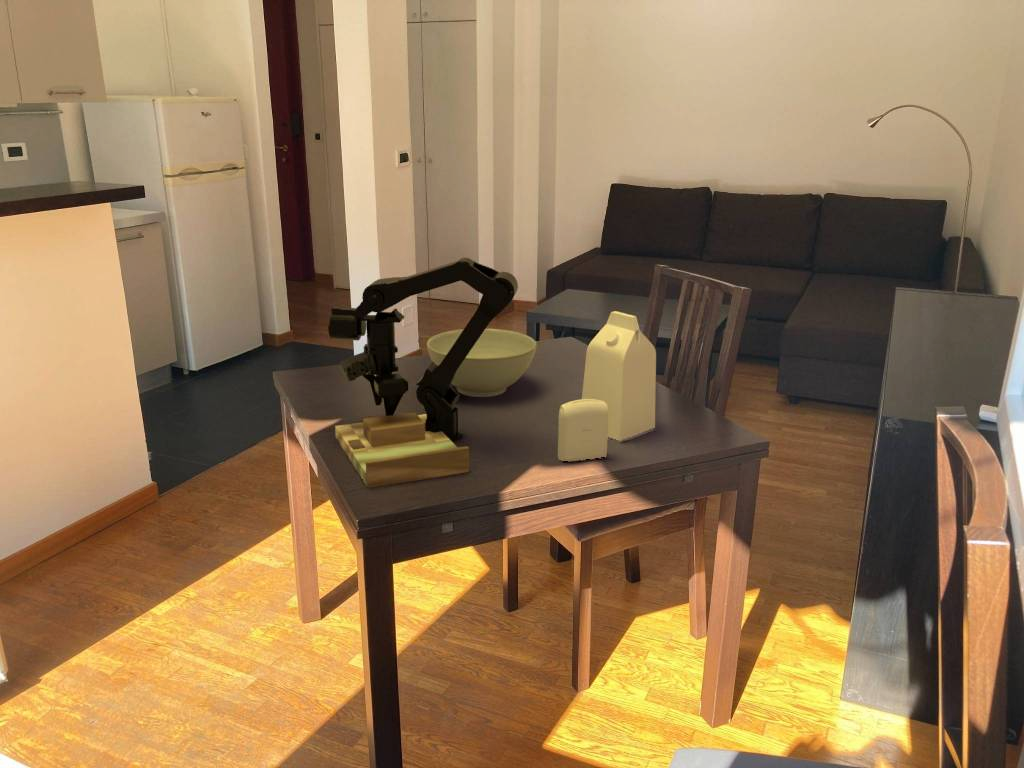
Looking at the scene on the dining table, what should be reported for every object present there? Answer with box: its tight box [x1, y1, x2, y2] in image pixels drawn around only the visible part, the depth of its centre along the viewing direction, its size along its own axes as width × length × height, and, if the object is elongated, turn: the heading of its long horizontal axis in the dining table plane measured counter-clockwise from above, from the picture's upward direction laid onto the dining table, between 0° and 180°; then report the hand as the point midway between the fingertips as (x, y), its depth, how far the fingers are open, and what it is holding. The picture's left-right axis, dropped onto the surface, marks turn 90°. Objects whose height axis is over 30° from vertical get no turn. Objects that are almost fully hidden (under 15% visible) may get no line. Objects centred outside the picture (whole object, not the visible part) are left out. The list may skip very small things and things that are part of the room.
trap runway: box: [334, 413, 470, 489], centre depth 174 cm, size 27×20×5 cm
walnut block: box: [362, 412, 425, 447], centre depth 176 cm, size 7×11×4 cm, turn 113°
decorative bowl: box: [426, 328, 538, 398], centre depth 212 cm, size 27×27×12 cm
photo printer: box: [557, 398, 609, 462], centre depth 172 cm, size 10×4×12 cm, turn 104°
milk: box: [581, 310, 657, 441], centre depth 185 cm, size 12×12×26 cm
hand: (383, 412), depth 183 cm, fingers open, 9 cm apart
